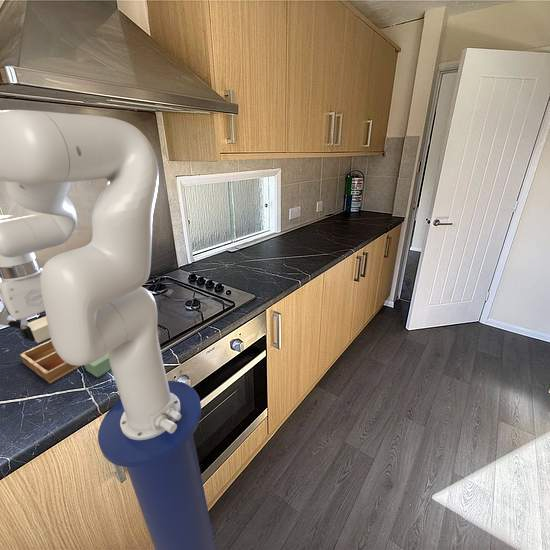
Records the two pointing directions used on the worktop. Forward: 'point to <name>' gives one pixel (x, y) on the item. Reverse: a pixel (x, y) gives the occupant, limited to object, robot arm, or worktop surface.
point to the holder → (46, 362)
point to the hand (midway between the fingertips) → (44, 332)
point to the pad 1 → (39, 329)
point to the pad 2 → (99, 366)
